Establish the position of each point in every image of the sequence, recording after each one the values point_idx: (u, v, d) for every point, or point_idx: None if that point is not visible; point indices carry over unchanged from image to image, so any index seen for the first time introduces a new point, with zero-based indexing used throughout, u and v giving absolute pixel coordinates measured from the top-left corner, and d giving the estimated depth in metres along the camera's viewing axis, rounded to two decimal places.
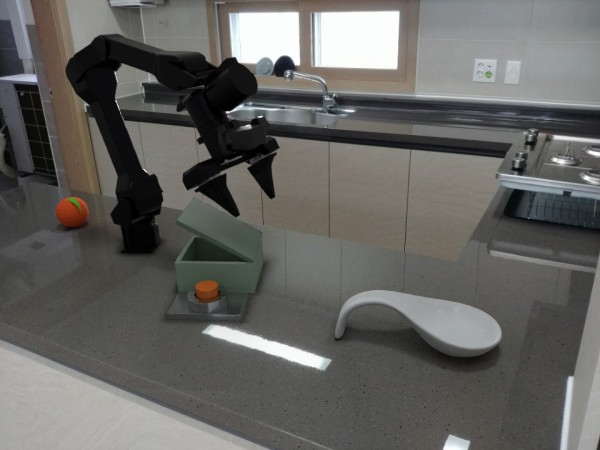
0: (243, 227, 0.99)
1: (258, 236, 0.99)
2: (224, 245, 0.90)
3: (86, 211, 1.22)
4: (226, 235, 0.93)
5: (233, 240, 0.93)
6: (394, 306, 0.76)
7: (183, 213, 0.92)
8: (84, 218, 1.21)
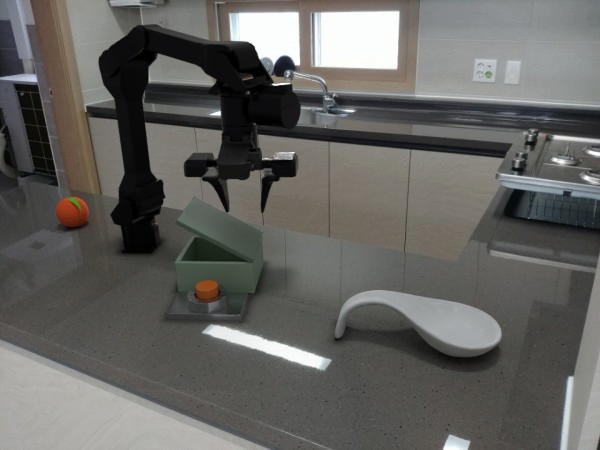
0: (243, 227, 0.99)
1: (258, 236, 0.99)
2: (224, 245, 0.90)
3: (86, 211, 1.22)
4: (226, 235, 0.93)
5: (233, 240, 0.93)
6: (394, 306, 0.76)
7: (183, 213, 0.92)
8: (84, 218, 1.21)
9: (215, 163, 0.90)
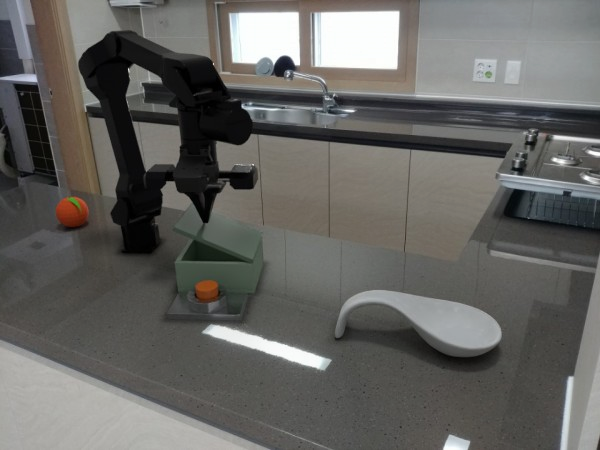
0: (242, 228, 0.99)
1: (258, 236, 0.99)
2: (223, 247, 0.90)
3: (86, 211, 1.22)
4: (224, 238, 0.93)
5: (232, 242, 0.93)
6: (394, 306, 0.76)
7: (180, 220, 0.93)
8: (84, 218, 1.21)
9: None
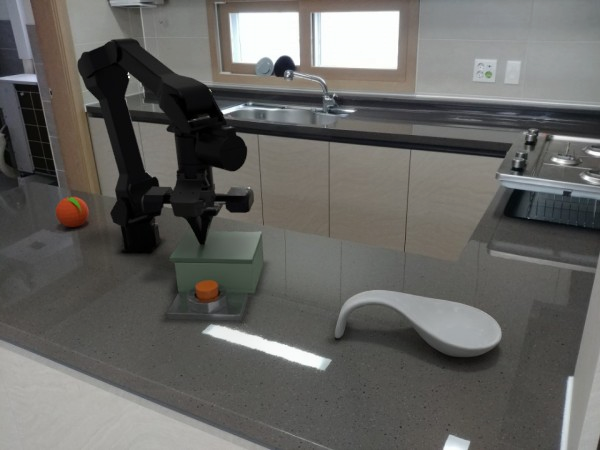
0: (239, 236, 1.00)
1: (257, 237, 0.99)
2: (220, 259, 0.91)
3: (86, 211, 1.22)
4: (222, 250, 0.94)
5: (229, 251, 0.94)
6: (394, 306, 0.76)
7: (176, 249, 0.95)
8: (84, 218, 1.21)
9: None
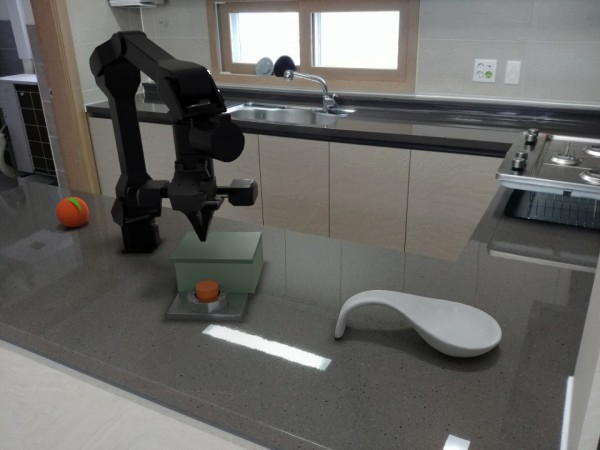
0: (239, 236, 1.00)
1: (257, 237, 0.99)
2: (220, 259, 0.91)
3: (86, 211, 1.22)
4: (222, 250, 0.94)
5: (229, 251, 0.94)
6: (394, 306, 0.76)
7: (176, 250, 0.95)
8: (84, 218, 1.21)
9: None
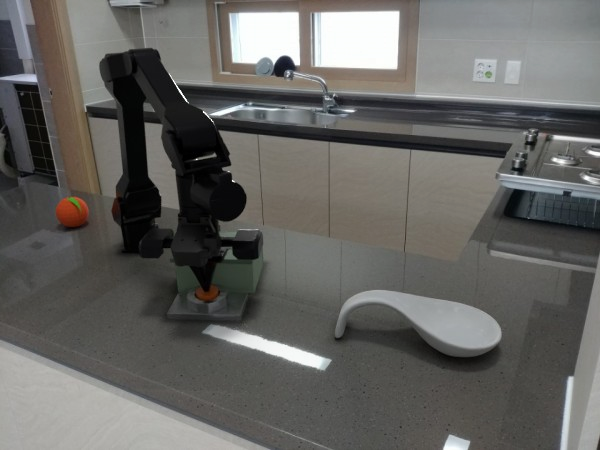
0: None
1: None
2: None
3: (86, 211, 1.22)
4: None
5: (229, 251, 0.94)
6: (394, 306, 0.76)
7: None
8: (84, 218, 1.21)
9: None
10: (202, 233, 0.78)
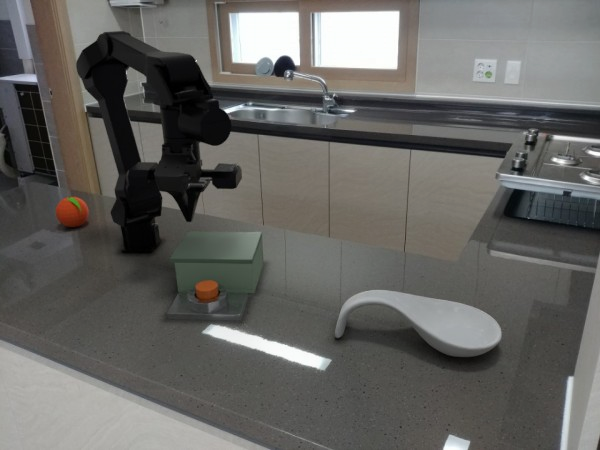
0: (239, 236, 1.00)
1: (257, 237, 0.99)
2: (220, 259, 0.91)
3: (86, 211, 1.22)
4: (222, 250, 0.94)
5: (229, 251, 0.94)
6: (394, 306, 0.76)
7: (176, 250, 0.95)
8: (84, 218, 1.21)
9: None
10: (183, 161, 0.85)
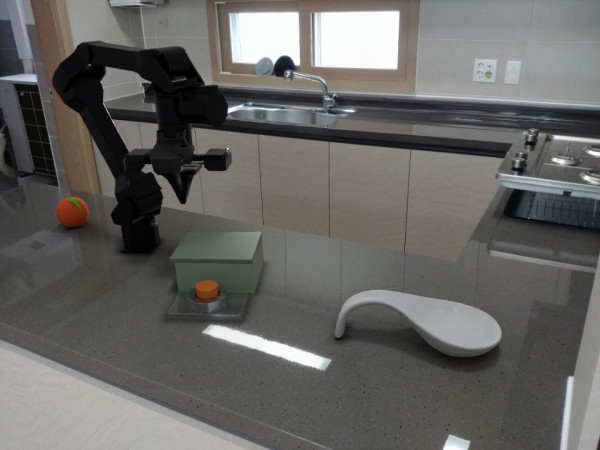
0: (239, 236, 1.00)
1: (257, 237, 0.99)
2: (220, 259, 0.91)
3: (86, 211, 1.22)
4: (222, 250, 0.94)
5: (229, 251, 0.94)
6: (394, 306, 0.76)
7: (176, 250, 0.95)
8: (84, 218, 1.21)
9: None
10: (177, 145, 0.92)
